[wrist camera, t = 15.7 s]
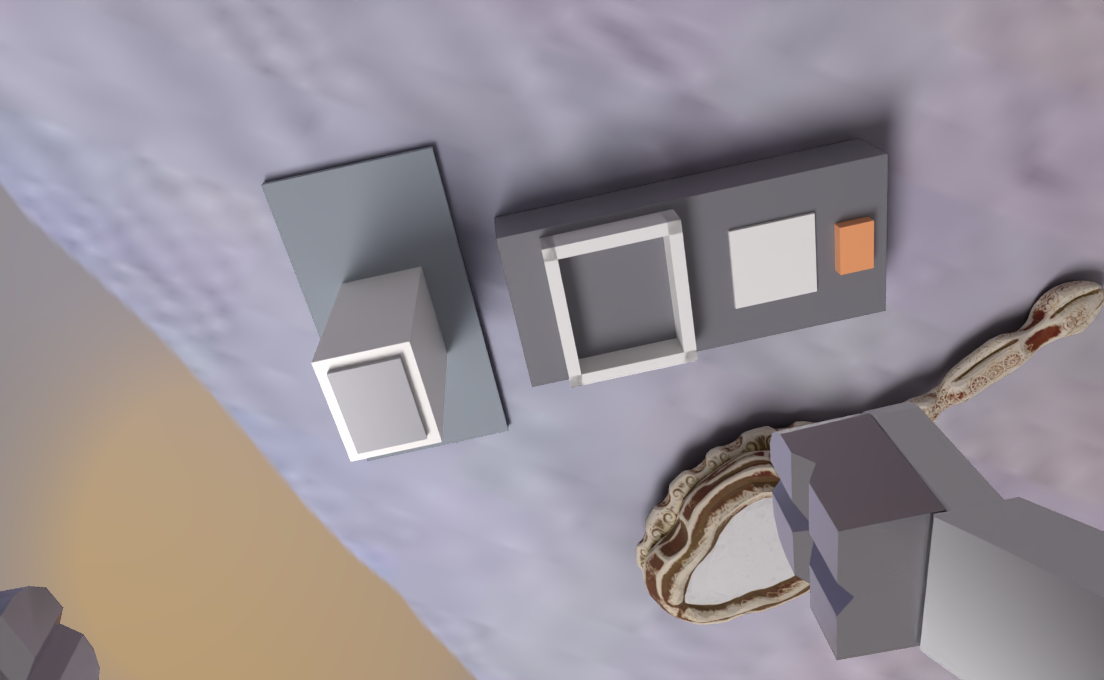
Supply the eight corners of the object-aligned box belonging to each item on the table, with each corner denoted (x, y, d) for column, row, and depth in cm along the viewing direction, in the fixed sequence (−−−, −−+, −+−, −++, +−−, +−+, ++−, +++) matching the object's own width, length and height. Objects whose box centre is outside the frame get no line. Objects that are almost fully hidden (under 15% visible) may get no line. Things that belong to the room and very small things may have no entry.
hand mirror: (1155, 375, 42) (715, 673, 46) (1068, 320, 47) (674, 595, 51) (1139, 249, 36) (629, 606, 40) (1040, 199, 41) (592, 524, 44)
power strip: (494, 217, 37) (497, 250, 33) (858, 138, 37) (904, 161, 33) (528, 358, 41) (534, 403, 37) (858, 286, 41) (900, 323, 37)
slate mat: (263, 182, 35) (261, 185, 35) (432, 145, 35) (431, 147, 35) (368, 456, 43) (367, 461, 42) (508, 426, 43) (508, 430, 42)
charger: (341, 283, 38) (310, 366, 30) (421, 266, 38) (409, 344, 30) (372, 369, 40) (349, 465, 33) (447, 353, 40) (441, 446, 33)
